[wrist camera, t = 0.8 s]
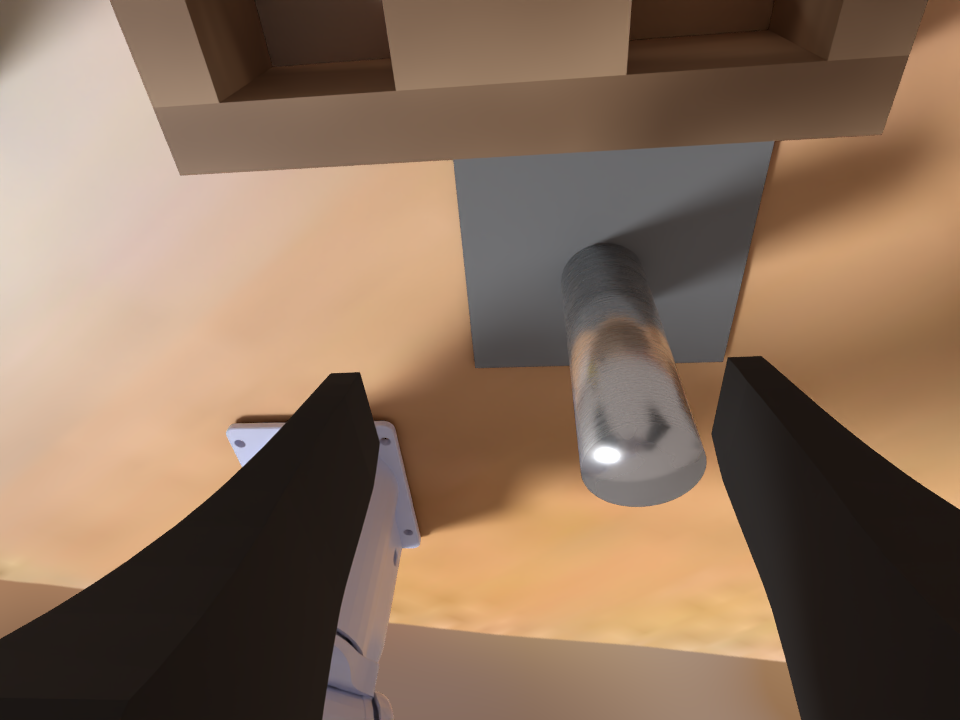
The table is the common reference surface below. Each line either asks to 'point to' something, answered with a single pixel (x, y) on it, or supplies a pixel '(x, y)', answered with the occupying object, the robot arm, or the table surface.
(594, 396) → the peg
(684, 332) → the mat
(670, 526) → the table surface
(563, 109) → the socket block
